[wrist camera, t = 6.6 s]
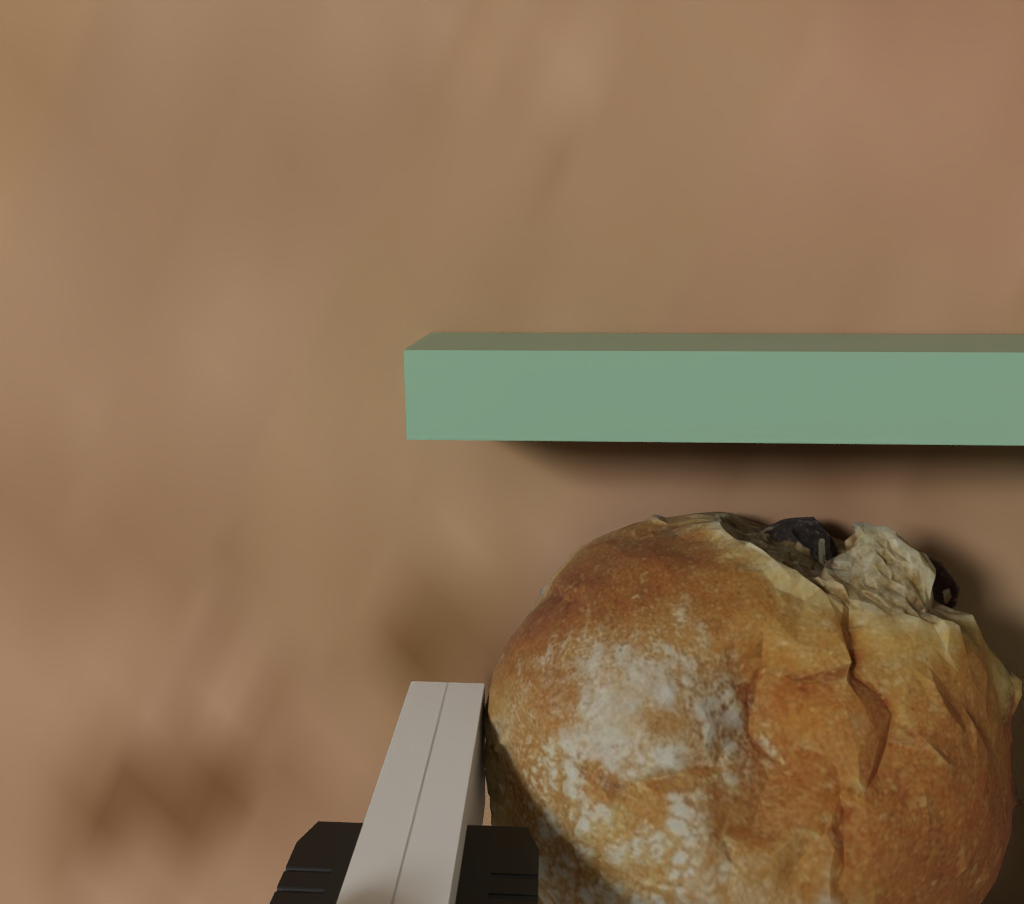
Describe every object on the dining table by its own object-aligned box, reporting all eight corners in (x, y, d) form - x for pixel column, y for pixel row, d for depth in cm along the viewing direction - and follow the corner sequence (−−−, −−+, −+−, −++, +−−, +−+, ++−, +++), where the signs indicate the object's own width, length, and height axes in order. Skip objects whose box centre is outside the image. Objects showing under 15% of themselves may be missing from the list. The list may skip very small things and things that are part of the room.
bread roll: (484, 539, 21) (290, 769, 15) (880, 370, 16) (841, 628, 9) (680, 829, 23) (581, 1149, 17) (1104, 774, 17) (1206, 1236, 11)
